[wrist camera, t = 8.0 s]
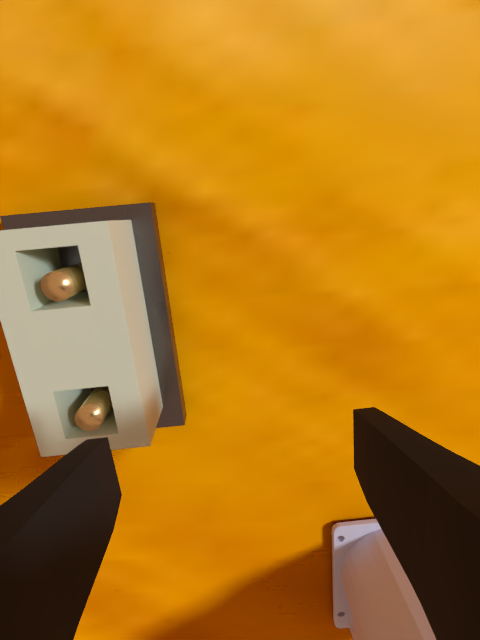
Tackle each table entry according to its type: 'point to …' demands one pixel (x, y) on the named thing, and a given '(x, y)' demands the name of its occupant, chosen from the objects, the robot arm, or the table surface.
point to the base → (155, 294)
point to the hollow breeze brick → (80, 334)
